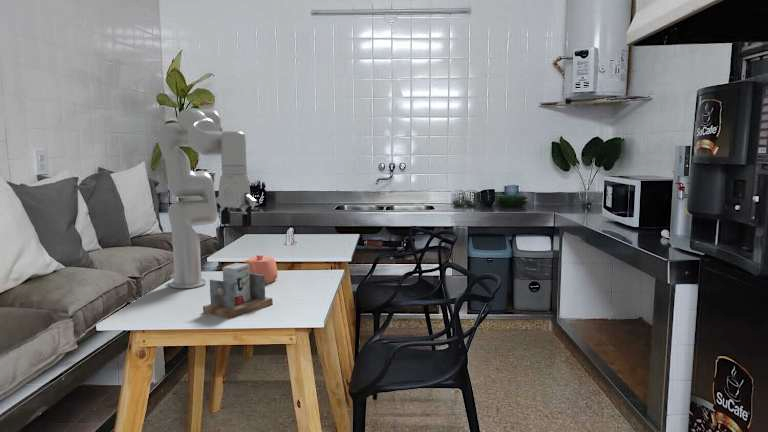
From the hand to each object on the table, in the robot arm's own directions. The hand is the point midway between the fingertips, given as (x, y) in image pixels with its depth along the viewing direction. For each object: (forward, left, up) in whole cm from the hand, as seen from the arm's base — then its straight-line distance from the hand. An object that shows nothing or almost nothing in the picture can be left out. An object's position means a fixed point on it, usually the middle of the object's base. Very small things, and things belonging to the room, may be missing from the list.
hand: (236, 225), depth 181 cm
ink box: (+1, -2, -25) cm, 25 cm away
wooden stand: (+1, -2, -26) cm, 26 cm away
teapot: (-20, +28, -27) cm, 44 cm away
